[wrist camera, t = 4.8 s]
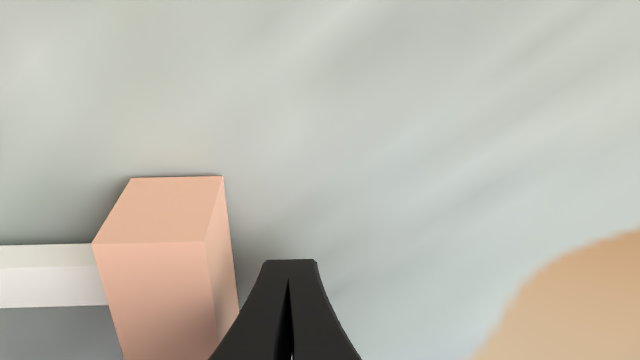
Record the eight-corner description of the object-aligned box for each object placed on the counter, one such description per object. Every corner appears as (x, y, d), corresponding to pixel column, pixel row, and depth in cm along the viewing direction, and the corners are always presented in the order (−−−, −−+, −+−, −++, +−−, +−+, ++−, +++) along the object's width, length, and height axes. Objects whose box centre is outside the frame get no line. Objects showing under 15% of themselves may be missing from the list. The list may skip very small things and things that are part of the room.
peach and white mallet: (239, 311, 16) (221, 424, 13) (-116, 320, 16) (-232, 438, 13) (223, 175, 14) (195, 270, 10) (-197, 185, 14) (-368, 284, 10)
